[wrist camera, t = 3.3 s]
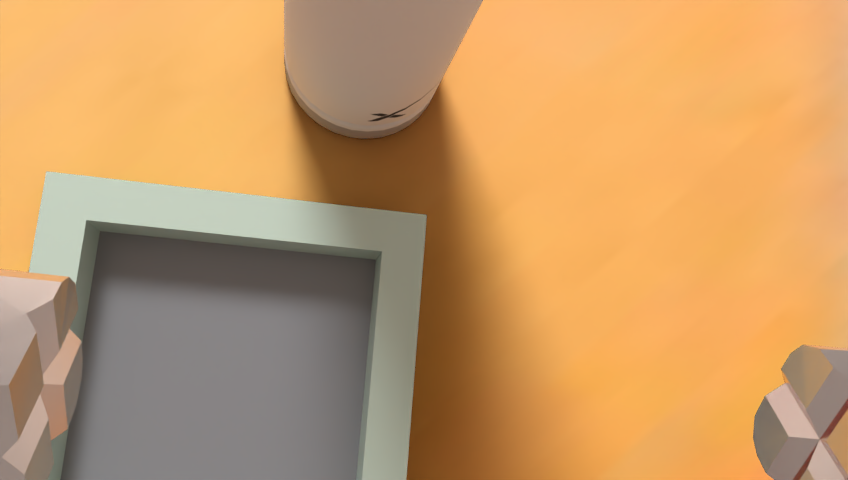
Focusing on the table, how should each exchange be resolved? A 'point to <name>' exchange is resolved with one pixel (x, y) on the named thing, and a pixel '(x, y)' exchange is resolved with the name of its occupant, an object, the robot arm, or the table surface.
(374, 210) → the pale green square tray
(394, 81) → the travel mug
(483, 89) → the table surface
